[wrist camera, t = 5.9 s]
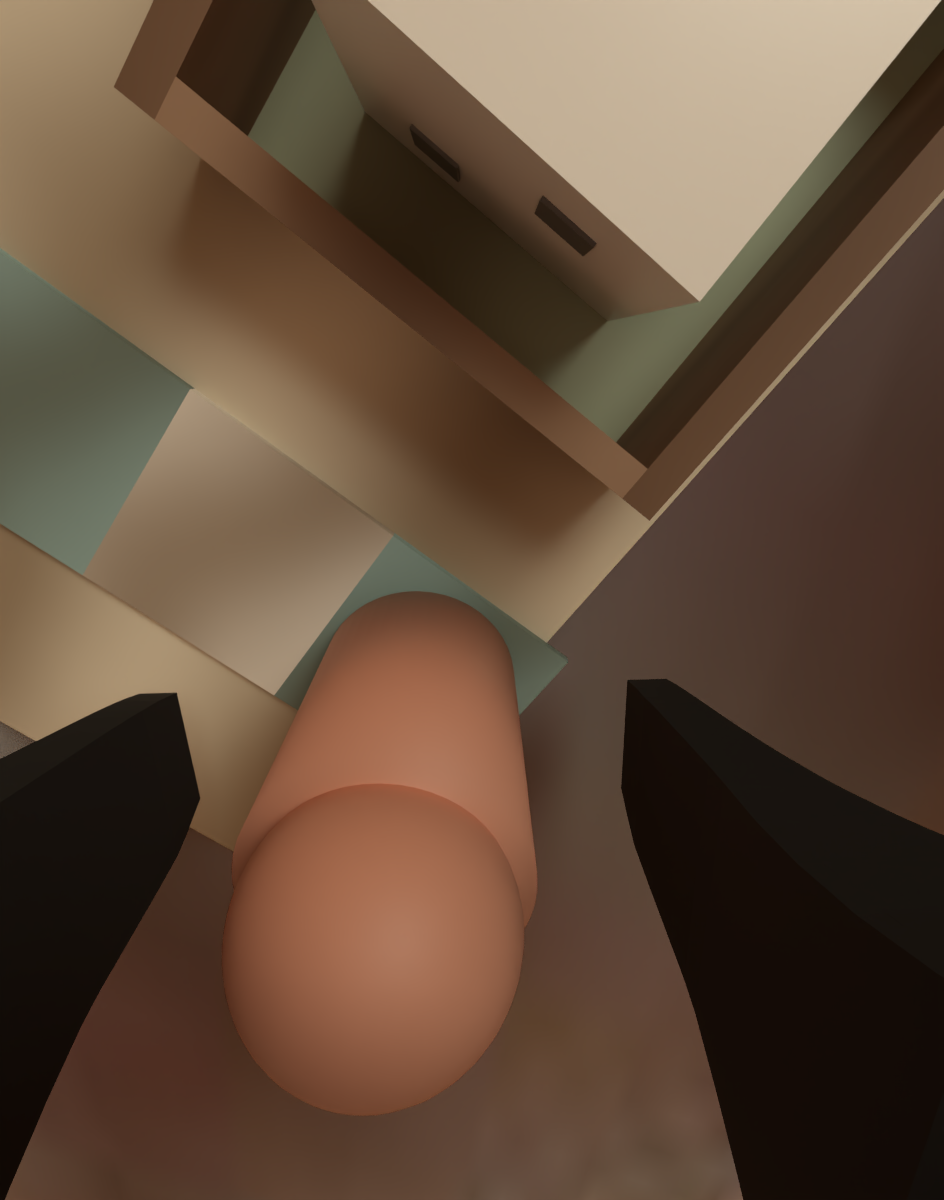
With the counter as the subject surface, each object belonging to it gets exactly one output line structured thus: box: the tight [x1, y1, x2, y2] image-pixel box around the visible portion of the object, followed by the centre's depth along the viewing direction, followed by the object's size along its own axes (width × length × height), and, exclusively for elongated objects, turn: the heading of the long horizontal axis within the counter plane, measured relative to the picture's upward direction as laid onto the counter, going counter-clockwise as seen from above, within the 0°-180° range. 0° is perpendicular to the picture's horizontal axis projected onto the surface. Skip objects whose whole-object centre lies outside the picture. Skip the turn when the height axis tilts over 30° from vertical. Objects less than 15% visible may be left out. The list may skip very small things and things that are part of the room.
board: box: [0, 0, 944, 852], centre depth 9 cm, size 18×22×4 cm
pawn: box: [222, 591, 537, 1116], centre depth 9 cm, size 4×4×7 cm
